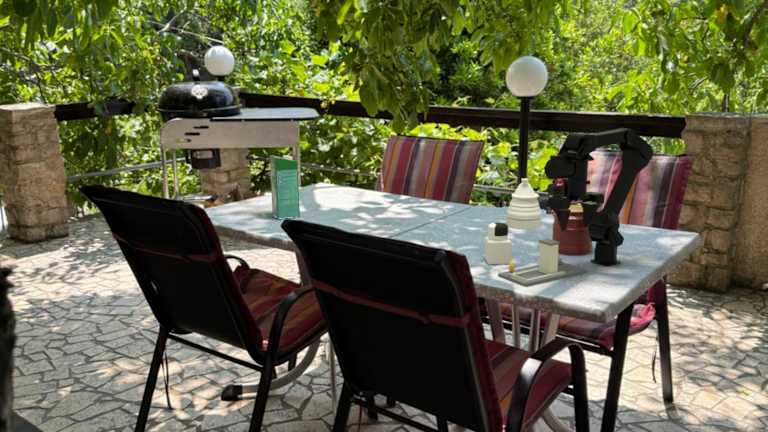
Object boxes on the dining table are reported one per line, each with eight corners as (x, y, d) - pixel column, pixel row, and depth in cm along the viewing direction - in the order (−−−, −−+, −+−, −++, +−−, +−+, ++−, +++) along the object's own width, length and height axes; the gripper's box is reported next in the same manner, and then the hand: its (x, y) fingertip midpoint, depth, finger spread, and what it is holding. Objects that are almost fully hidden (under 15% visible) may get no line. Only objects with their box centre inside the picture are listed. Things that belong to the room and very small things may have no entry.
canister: (562, 243, 248) (564, 192, 244) (598, 249, 240) (601, 196, 236) (544, 251, 238) (546, 198, 235) (581, 258, 230) (584, 203, 227)
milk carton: (300, 218, 292) (297, 155, 287) (277, 220, 289) (274, 157, 284) (294, 213, 301) (291, 153, 295) (272, 215, 297) (269, 154, 292)
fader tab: (546, 269, 215) (547, 238, 213) (558, 273, 211) (559, 241, 209) (537, 271, 214) (538, 240, 212) (549, 275, 210) (550, 243, 208)
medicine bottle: (506, 257, 232) (507, 220, 229) (511, 264, 225) (512, 226, 222) (484, 258, 232) (484, 221, 229) (488, 264, 225) (488, 226, 222)
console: (558, 262, 226) (558, 250, 225) (587, 272, 216) (588, 259, 215) (498, 276, 213) (498, 263, 212) (526, 286, 203) (526, 273, 202)
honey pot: (541, 230, 267) (543, 181, 263) (505, 229, 269) (506, 180, 265) (541, 222, 279) (542, 175, 275) (507, 221, 281) (508, 174, 278)
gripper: (578, 170, 224) (575, 220, 227) (533, 175, 214) (531, 227, 217) (607, 175, 215) (603, 227, 218) (562, 181, 205) (559, 235, 208)
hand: (574, 229), depth 216 cm, fingers open, 9 cm apart
